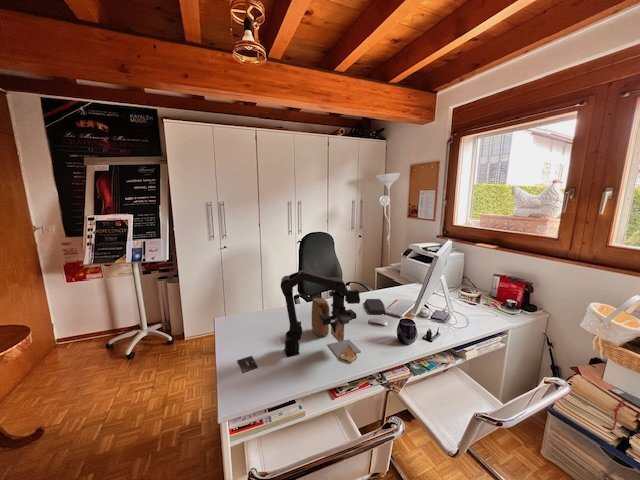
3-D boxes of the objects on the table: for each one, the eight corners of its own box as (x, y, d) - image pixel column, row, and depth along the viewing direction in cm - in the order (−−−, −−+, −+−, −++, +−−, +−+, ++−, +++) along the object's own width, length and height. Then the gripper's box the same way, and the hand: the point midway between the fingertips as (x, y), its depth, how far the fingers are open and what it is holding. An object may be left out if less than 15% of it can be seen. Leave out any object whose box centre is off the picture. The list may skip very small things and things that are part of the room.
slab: (338, 341, 129) (338, 324, 127) (330, 333, 136) (331, 317, 134) (343, 340, 130) (344, 323, 128) (336, 332, 137) (336, 316, 135)
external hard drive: (381, 303, 192) (381, 298, 192) (387, 315, 173) (388, 309, 173) (363, 303, 193) (363, 297, 192) (368, 315, 174) (368, 309, 173)
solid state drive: (251, 356, 129) (251, 355, 129) (258, 368, 120) (258, 367, 120) (237, 361, 125) (237, 360, 125) (243, 373, 117) (243, 372, 117)
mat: (338, 358, 128) (338, 357, 128) (327, 345, 139) (327, 344, 139) (360, 352, 133) (360, 351, 133) (348, 339, 144) (348, 339, 144)
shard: (347, 346, 137) (348, 343, 136) (361, 351, 133) (362, 347, 133) (339, 358, 127) (339, 355, 127) (354, 363, 124) (354, 360, 124)
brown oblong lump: (310, 330, 153) (310, 298, 150) (321, 327, 157) (322, 295, 153) (319, 339, 144) (319, 305, 140) (331, 335, 148) (331, 302, 144)
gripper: (328, 313, 118) (327, 345, 121) (363, 307, 126) (361, 336, 129) (318, 304, 128) (318, 333, 131) (351, 298, 136) (350, 326, 139)
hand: (337, 332), depth 132 cm, fingers closed on slab, 3 cm apart
